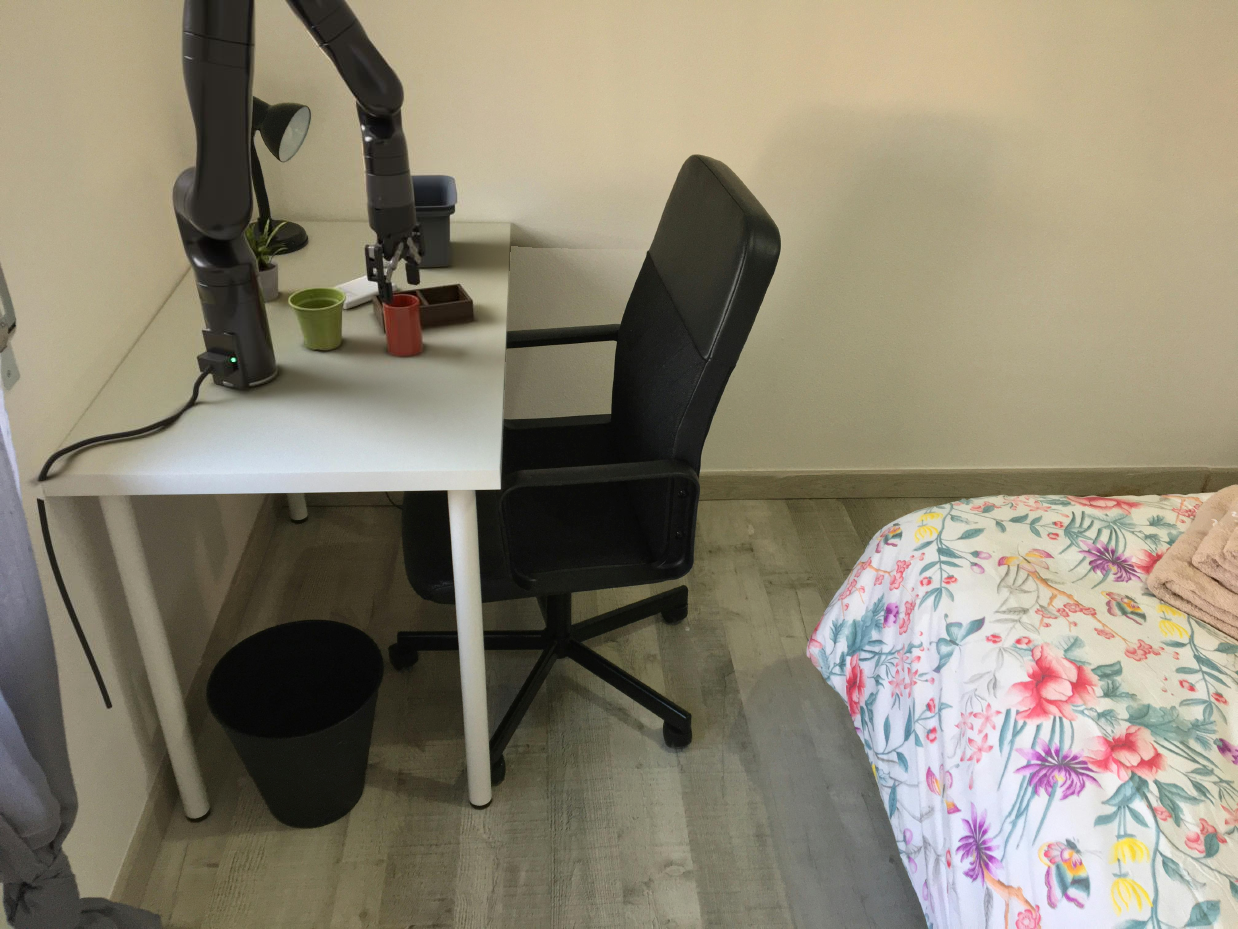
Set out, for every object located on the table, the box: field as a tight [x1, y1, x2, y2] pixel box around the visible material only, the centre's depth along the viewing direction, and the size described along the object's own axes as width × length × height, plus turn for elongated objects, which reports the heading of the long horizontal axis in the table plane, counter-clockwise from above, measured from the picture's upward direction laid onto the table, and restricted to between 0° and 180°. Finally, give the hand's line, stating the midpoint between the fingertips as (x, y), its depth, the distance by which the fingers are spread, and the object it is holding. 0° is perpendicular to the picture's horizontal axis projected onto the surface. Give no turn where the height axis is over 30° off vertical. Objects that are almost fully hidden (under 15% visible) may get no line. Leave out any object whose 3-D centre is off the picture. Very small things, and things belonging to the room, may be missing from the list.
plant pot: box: [288, 286, 346, 351], centre depth 157 cm, size 9×9×9 cm
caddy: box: [371, 283, 475, 335], centre depth 169 cm, size 9×17×4 cm, turn 115°
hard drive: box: [332, 274, 398, 310], centre depth 178 cm, size 2×8×12 cm
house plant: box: [244, 212, 289, 302], centre depth 171 cm, size 14×14×16 cm
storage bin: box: [411, 174, 458, 269], centre depth 194 cm, size 21×16×14 cm
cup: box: [382, 294, 424, 357], centre depth 157 cm, size 6×6×9 cm
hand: (400, 293), depth 154 cm, fingers open, 8 cm apart
